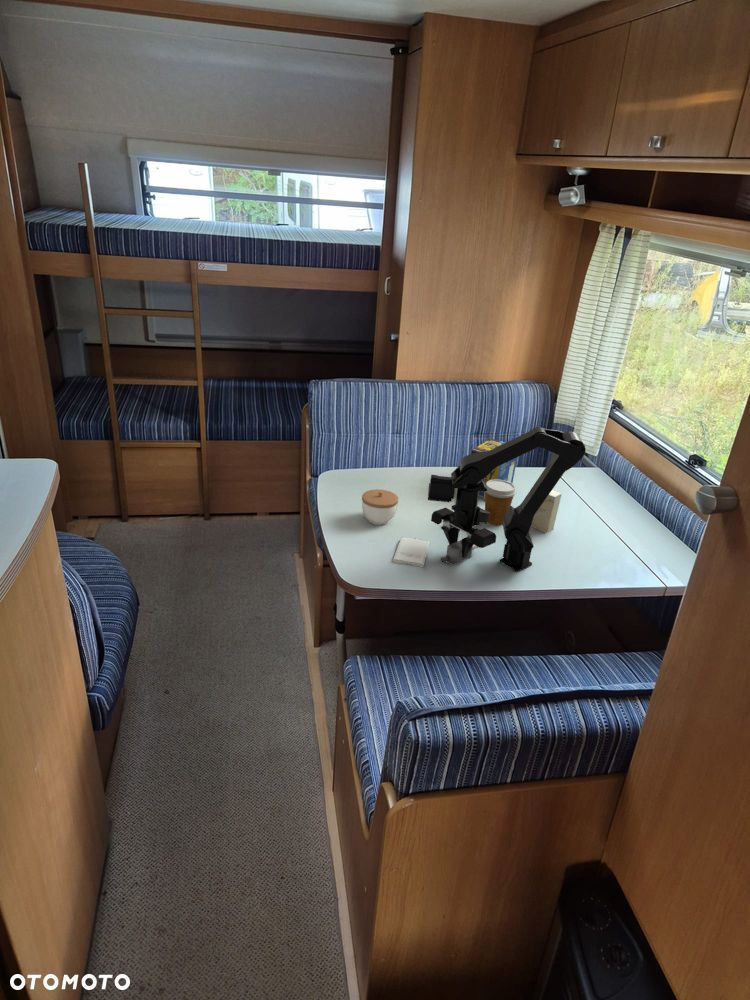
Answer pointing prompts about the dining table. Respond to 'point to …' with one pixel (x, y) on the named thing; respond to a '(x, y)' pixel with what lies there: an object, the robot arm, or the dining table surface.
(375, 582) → the dining table surface
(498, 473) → the protein box
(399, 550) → the external hard drive
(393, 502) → the lidded jar
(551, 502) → the skincare box
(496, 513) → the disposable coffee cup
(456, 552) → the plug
